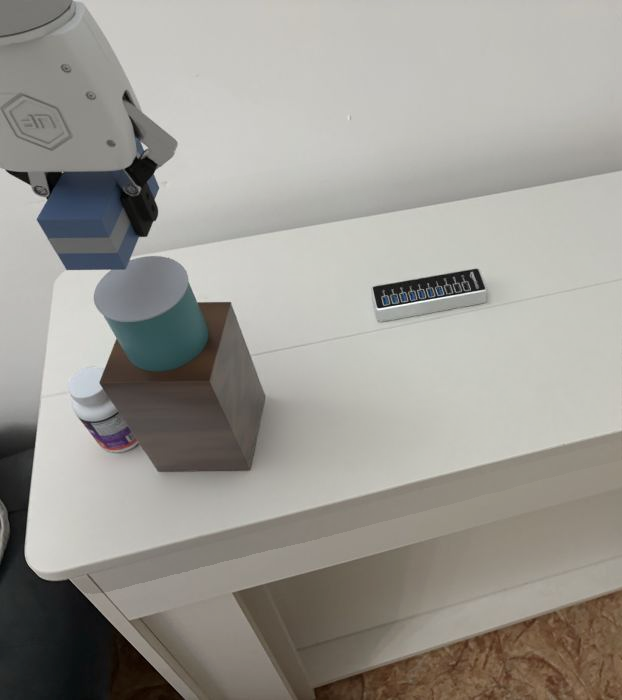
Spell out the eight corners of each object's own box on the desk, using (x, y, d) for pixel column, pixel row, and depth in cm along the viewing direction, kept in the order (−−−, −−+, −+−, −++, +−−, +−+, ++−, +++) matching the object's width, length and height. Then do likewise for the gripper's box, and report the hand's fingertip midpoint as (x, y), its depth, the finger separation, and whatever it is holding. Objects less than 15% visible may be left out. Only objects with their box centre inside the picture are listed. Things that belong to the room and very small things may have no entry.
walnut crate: (250, 470, 77) (209, 381, 64) (157, 471, 76) (98, 383, 64) (265, 395, 83) (230, 301, 71) (179, 396, 83) (130, 302, 70)
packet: (126, 270, 54) (100, 219, 50) (66, 270, 54) (35, 219, 50) (160, 187, 60) (139, 136, 56) (106, 188, 60) (82, 137, 56)
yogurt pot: (200, 372, 65) (175, 320, 59) (113, 373, 65) (80, 321, 59) (218, 309, 70) (196, 255, 64) (137, 310, 70) (109, 256, 64)
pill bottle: (95, 423, 80) (57, 371, 73) (144, 407, 82) (111, 354, 74) (101, 461, 77) (62, 410, 70) (152, 443, 79) (119, 392, 71)
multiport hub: (372, 298, 93) (370, 285, 91) (478, 279, 95) (479, 267, 93) (377, 322, 90) (376, 310, 88) (487, 302, 93) (487, 290, 91)
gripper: (-176, 24, 40) (-10, 259, 55) (122, 22, 41) (210, 257, 55) (-110, -32, 45) (26, 197, 59) (156, -33, 45) (229, 195, 60)
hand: (114, 224), depth 57 cm, fingers closed on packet, 4 cm apart
